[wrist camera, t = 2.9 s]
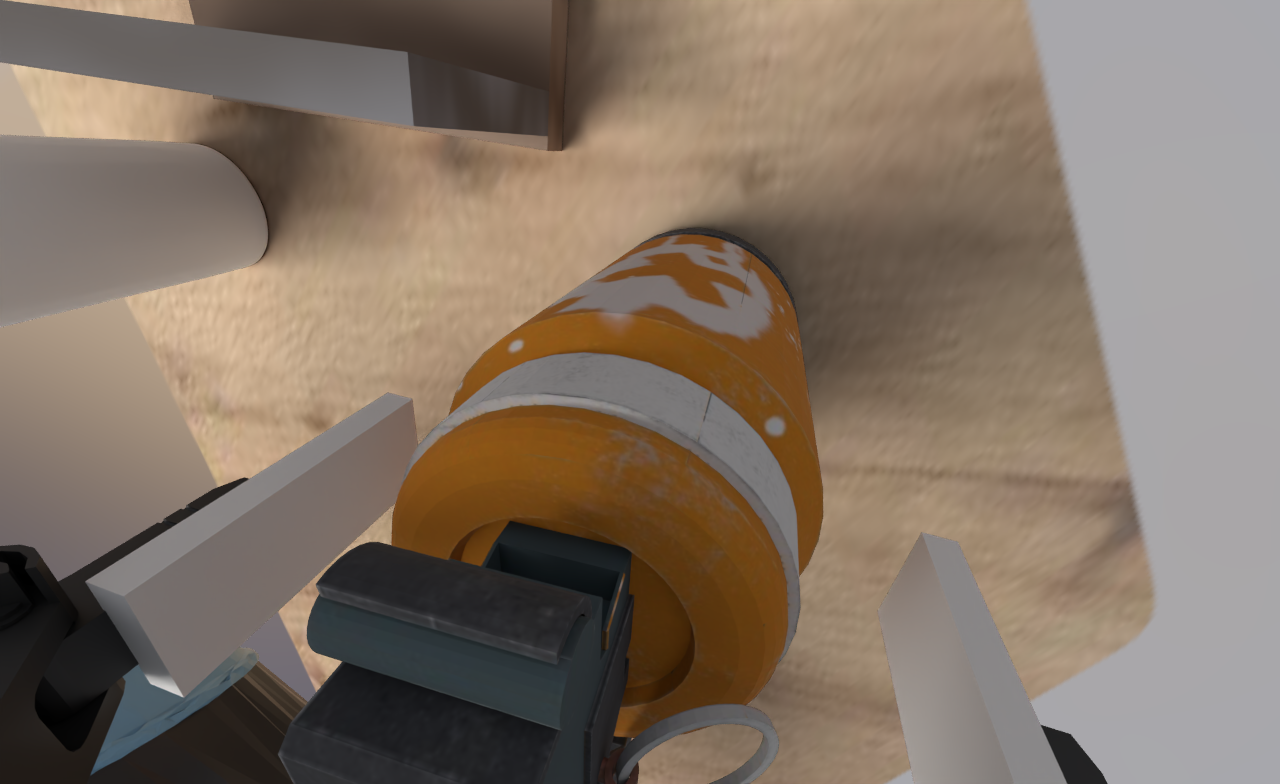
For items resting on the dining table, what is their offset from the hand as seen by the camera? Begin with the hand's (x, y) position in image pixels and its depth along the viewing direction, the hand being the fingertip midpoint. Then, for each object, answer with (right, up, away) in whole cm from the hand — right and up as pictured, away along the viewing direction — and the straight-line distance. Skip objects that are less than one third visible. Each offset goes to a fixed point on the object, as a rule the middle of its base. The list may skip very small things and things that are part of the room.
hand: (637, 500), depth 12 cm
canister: (+3, +5, +10) cm, 12 cm away
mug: (-24, +13, +14) cm, 31 cm away
